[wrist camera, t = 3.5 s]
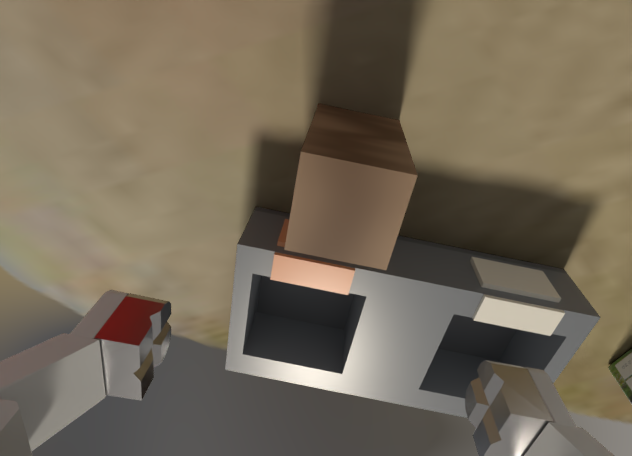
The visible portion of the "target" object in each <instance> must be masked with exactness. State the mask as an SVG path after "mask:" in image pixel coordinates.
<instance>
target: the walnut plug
mask: <svg viewBox="0 0 632 456" xmlns="http://www.w3.org/2000/svg"><path fill="white" fill-rule="evenodd" d="M417 176H418V175H417V172H416V169H415V166H414V163H413V160H412V157H411V154H410V151H409V148H408V145H407V142H406V139H405V136H404V133H403V130H402V127H401V124H400V121H399V120H396V119H391V118H386V117H381V116H377V115H372V114H367V113H362V112H357V111H352V110H348V109H343V108H338V107H333V106H328V105H323V104H318V107H317V110H316V112H315V115H314V118H313V120H312V123H311V126H310V128H309V131H308V134H307V136H306V139H305V142H304V144H303V147H302V150H301V153H300V159H299V165H298V171H297V177H296V183H295V189H294V195H293V201H292V207H291V213H290V219H289V225H288V231H287V236H286V242H285V248H284V250H288V251H293V252H298V253H303V254H308V255H313V256H317V257H322V258H327V259H332V260H337V261H342V262H347V263H352V264H357V265H362V266H367V267H372V268H377V269H382V270H387V267H388V264H389V261H390V258H391V255H392V252H393V249H394V246H395V243H396V240H397V237H398V233H399V230H400V227H401V224H402V221H403V218H404V215H405V212H406V209H407V206H408V203H409V200H410V197H411V194H412V191H413V188H414V185H415V182H416V179H417Z"/></svg>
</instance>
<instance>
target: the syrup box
mask: <svg viewBox="0 0 632 456" xmlns="http://www.w3.org/2000/svg"><path fill="white" fill-rule="evenodd" d="M608 368H609V370H610V372H611V373H612V375H613V376H614V378H615V380H616V381H617V382H618V384H619V386H620V387H621V389H622V390H623V392H624V393H625V395H626V396H627V398H628V399H629V401H630V402H631V404H632V349H630V350H629V351H628V352H627V353H625V354H624V355H623V356H621V357H620V358H619V359H617V360H616V361H615V362H614V363H612V364H611V365H610V366H609V367H608Z"/></svg>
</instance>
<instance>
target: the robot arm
mask: <svg viewBox="0 0 632 456" xmlns="http://www.w3.org/2000/svg"><path fill="white" fill-rule="evenodd" d="M170 315H171V303H170V302H169V301H164V300H159V299H155V298H150V297H145V296H140V295H136V294H131V293H130V294H128V293H124V292H119V291H115V290H109V291H107V292H105V293H104V294H103V295H102V297H101V298H100V299H99V300H98V301H97V303H96V304H95V305H94V306H93V307H92V308H91V310H90V311H89V312H88V313H87V314H86V315H85V317H84V318H83V319H82V320H81V321H80V322H79V324H78V325H77V326H76V327H75V328H74V330H73V331H72V332H71V333H70V334H64V333H63V334H61V335H58V336H56V337H54V338H52V339H49V340H47V341H45V342H43V343H40V344H38V345H36V346H34V347H31V348H29V349H27V350H25V351H23V352H20V353H18V354H16V355H14V356H12V357H9V358H7V359H5V360H3V361H0V456H32V453H31V451H33V450H34V449H35V448H37V447H38V446H39V445H41V444H42V443H44V442H45V441H46V440H48V439H49V438H50V437H52V436H53V435H54V434H56V433H57V432H59V431H60V430H61V429H63V428H64V427H65V426H67V425H68V424H70V423H71V422H72V421H74V420H75V419H76V418H78V417H79V416H80V415H82V414H83V413H85V412H86V411H87V410H89V409H90V408H91V407H93V406H94V405H96V404H97V403H98V402H100V401H101V400H102V399H104V398H105V397H106V396H105V395H109V396H116V397H122V398H129V399H136V400H142V399H143V397H144V395H145V393H146V391H147V389H148V387H149V386H150V384H151V382H152V380H153V378H154V367H156V366H158V365H159V364H161V363H162V361H163V359H164V357H165V355H166V352H167V349H168V346H169V342H170V337H171V326H170V325H169V323H168V322H167V320H168V318H169V317H170ZM477 372H478V375H479V377H478V378H477V379H475V380H473V381H471V382H470V384H469V386H468V388H467V390H466V396H465V410H466V414H467V417H468V420H469V421H470V422H471V423H472V424H473V425H474V426H475V427H476V430H475V432H474V434H473V438H474V441H475V445H476V448H477V452H478V455H479V456H614V455H613V454H612V453H611V452H610V451H608V450H607V449H606V448H605V447H604V446H603V445H601V444H600V443H599V442H598V441H597V440H596V439H595V438H593V437H592V436H591V435H590V434H589V433H588V432H587V431H585V430H584V429H583V428H579V427H576V425H575V423H574V421H573V420H572V418H571V416H570V414H569V412H568V410H567V408H566V407H565V405H564V403H563V401H562V399H561V397H560V396H559V394H558V392H557V390H556V388H555V386H554V385H553V383H552V381H551V379H550V377H549V375H548V374H547V373H546V372H545V371H544V370H540V369H534V368H528V367H521V366H516V365H510V364H504V363H499V362H493V361H487V360H484V361H483V362H482V363H481V364H480V365H479V367H478V369H477Z"/></svg>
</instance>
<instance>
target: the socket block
mask: <svg viewBox="0 0 632 456" xmlns="http://www.w3.org/2000/svg"><path fill="white" fill-rule="evenodd" d="M289 219H290V213H285V212H280V211H275V210H270V209H265V208H260V207H255V209H254V212H253V214H252V216H251V218H250V220H249V222H248V224H247V226H246V228H245V230H244V232H243V234H242V236H241V238H240V240H239V242H238V244H237V254H236V265H235V275H234V285H233V296H232V306H231V316H230V326H229V337H228V347H227V357H226V368H225V370H230V371H235V372H240V373H245V374H250V375H255V376H260V377H265V378H270V379H275V380H280V381H285V382H290V383H295V384H300V385H306V386H310V387H315V388H320V389H326V390H331V391H336V392H340V393H346V394H350V395H356V396H360V397H366V398H371V399H376V400H381V401H386V402H391V403H396V404H401V405H406V406H411V407H416V408H421V409H426V410H431V411H436V412H441V413H446V414H451V415H456V416H461V417H466V418H468V417H467V414H466V410H465V396H466V390H467V388H468V386H469V384H470V382H471V381H473V380H475V379H477V378H478V377H479V375H478V372H477V369H478V367H479V365H480V364H481V363H482V362H483V361H484V360H487V361H493V362H499V363H504V364H510V365H516V366H521V367H528V368H534V369H540V370H544V371H545V372H546V373H547V374H548V375H549V377H550V379H551V381H552V383H554V382H555V380H556V379H557V377H558V376H559V375H560V373H561V372H562V370H563V369H564V368H565V366H566V365H567V364H568V362H569V361H570V359H571V358H572V357H573V355H574V354H575V352H576V351H577V350H578V348H579V347H580V345H581V344H582V343H583V341H584V340H585V338H586V337H587V336H588V334H589V333H590V331H591V330H592V329H593V327H594V326H595V324H596V323H597V322H598V320H599V319H600V316H599V315H598V314H597V312H596V311H595V310H594V308H593V307H592V306H591V304H590V303H589V302H588V300H587V299H586V298H585V296H584V295H583V294H582V292H581V291H580V290H579V288H578V287H577V286H576V284H575V283H574V282H573V280H572V279H571V278H570V277H569V275H568V274H567V273H566V271H565V270H564V269H560V268H555V267H551V266H546V265H541V264H536V263H531V262H526V261H521V260H516V259H511V258H506V257H501V256H496V255H492V254H487V253H482V252H477V251H472V250H467V249H462V248H457V247H452V246H447V245H442V244H437V243H432V242H428V241H423V240H418V239H413V238H408V237H403V236H398V237H397V240H396V243H395V246H394V249H393V252H392V255H391V258H390V261H389V264H388V267H387V270H382V269H377V268H372V267H367V266H362V265H357V264H352V263H347V262H342V261H337V260H332V259H327V258H322V257H317V256H313V255H308V254H303V253H298V252H293V251H288V250H284V248H285V242H286V236H287V231H288V225H289Z"/></svg>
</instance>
